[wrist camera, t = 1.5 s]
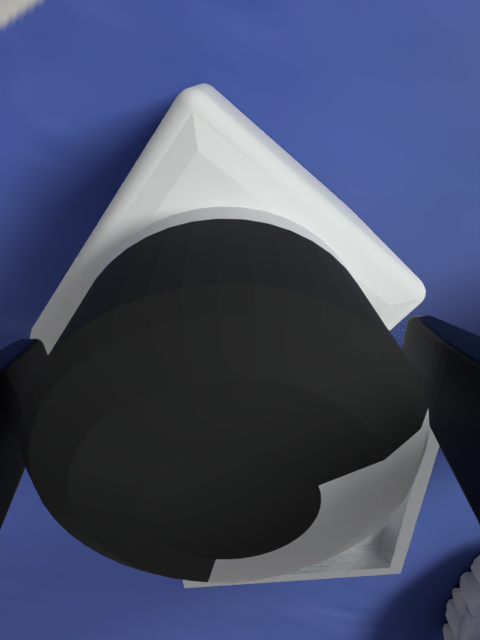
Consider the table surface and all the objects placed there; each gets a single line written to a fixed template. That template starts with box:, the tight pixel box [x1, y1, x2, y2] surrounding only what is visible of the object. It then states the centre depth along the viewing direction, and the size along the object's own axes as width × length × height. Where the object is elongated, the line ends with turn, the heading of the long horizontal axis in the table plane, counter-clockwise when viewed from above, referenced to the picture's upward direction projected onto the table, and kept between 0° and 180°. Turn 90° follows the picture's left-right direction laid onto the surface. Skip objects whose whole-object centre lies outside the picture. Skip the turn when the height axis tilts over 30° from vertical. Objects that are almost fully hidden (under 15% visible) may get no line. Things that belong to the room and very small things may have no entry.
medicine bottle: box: [19, 83, 429, 583], centre depth 11 cm, size 7×7×12 cm
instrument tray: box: [183, 426, 439, 588], centre depth 23 cm, size 14×14×2 cm
